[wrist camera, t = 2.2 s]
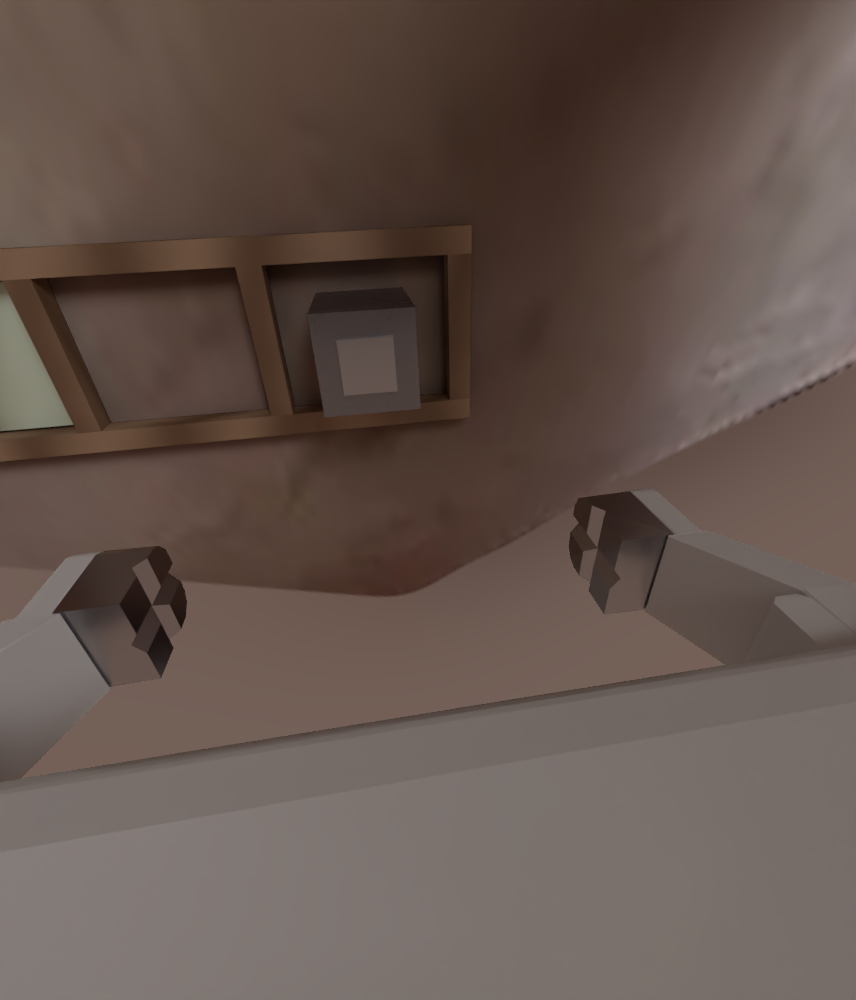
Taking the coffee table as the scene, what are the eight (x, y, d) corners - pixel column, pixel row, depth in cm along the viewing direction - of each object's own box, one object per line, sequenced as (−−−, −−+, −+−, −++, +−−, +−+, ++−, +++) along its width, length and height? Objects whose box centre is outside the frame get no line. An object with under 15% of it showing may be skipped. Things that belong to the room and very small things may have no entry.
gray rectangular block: (402, 287, 24) (416, 308, 19) (407, 371, 26) (421, 411, 21) (316, 292, 24) (306, 315, 18) (329, 377, 26) (324, 419, 21)
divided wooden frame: (466, 224, 23) (471, 224, 22) (465, 410, 28) (469, 417, 27) (-249, 261, 20) (-281, 263, 19) (-98, 462, 25) (-116, 472, 24)
